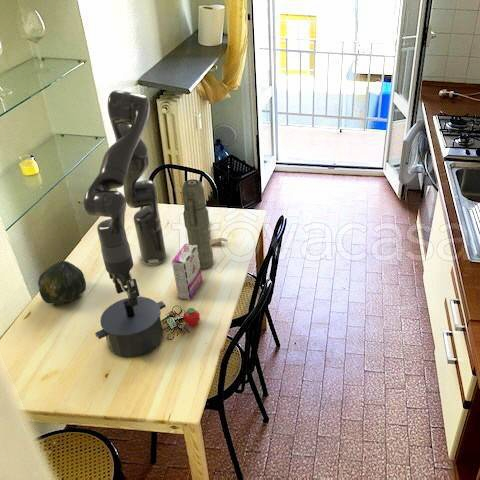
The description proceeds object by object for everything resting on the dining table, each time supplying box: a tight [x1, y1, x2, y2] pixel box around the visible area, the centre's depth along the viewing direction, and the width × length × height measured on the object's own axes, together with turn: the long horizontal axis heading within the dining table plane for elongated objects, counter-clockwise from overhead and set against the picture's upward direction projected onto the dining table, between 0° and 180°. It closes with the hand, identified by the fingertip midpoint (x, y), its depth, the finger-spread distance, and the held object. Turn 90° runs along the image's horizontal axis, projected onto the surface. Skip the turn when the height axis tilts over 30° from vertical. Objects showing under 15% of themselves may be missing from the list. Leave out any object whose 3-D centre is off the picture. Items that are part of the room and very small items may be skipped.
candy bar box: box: [171, 243, 203, 301], centre depth 180 cm, size 11×5×16 cm, turn 168°
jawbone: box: [208, 221, 228, 246], centre depth 214 cm, size 9×20×2 cm, turn 33°
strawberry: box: [183, 307, 201, 328], centre depth 168 cm, size 5×5×6 cm
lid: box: [99, 296, 162, 336], centre depth 156 cm, size 18×18×6 cm
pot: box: [94, 300, 167, 359], centre depth 160 cm, size 17×22×10 cm
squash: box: [37, 260, 87, 306], centre depth 176 cm, size 14×15×15 cm
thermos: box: [181, 178, 214, 271], centre depth 188 cm, size 9×12×35 cm
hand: (127, 298), depth 154 cm, fingers open, 8 cm apart
